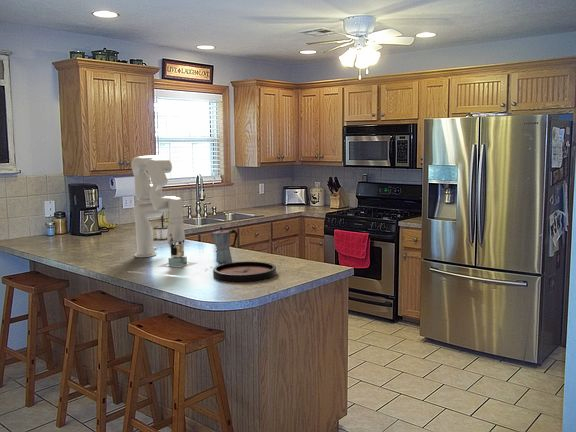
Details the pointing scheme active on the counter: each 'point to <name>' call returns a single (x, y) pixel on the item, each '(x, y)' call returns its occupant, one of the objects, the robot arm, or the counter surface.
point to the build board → (177, 266)
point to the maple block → (179, 251)
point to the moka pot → (223, 245)
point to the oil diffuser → (161, 230)
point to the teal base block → (177, 261)
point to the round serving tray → (244, 272)
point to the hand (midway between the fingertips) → (177, 253)
